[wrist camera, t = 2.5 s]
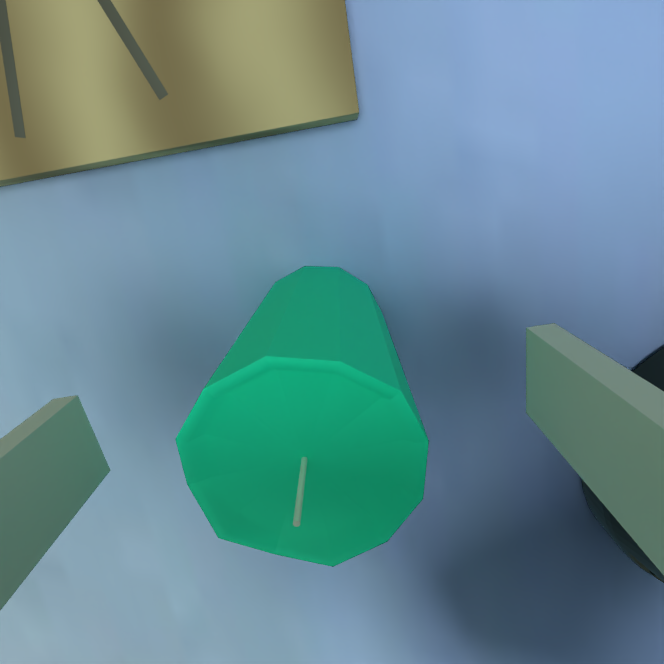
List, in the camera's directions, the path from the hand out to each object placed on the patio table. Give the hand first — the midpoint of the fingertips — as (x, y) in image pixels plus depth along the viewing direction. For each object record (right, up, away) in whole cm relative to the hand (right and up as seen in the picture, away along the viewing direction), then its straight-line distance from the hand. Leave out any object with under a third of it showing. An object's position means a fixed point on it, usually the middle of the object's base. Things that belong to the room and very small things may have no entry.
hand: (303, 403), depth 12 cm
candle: (0, +2, +8) cm, 8 cm away
